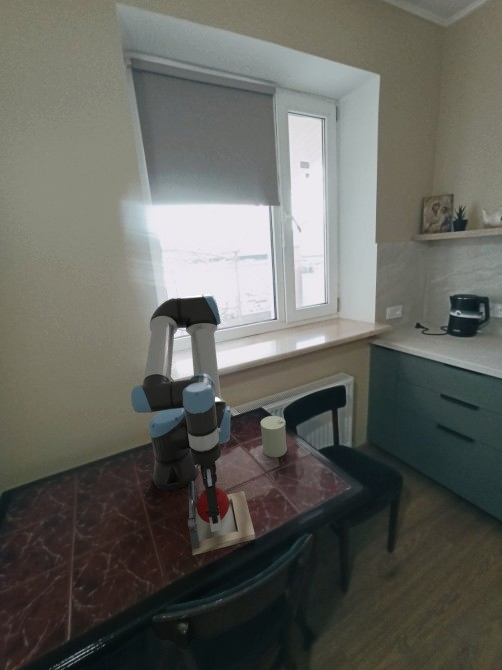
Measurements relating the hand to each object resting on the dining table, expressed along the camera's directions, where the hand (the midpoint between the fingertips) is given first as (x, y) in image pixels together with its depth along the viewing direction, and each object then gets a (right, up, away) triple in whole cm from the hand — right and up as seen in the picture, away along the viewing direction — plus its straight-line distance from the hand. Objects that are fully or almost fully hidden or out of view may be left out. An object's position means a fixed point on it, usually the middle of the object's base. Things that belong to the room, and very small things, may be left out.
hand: (214, 514), depth 80 cm
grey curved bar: (-5, -2, -1) cm, 6 cm away
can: (+19, +6, +30) cm, 36 cm away
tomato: (0, 0, 0) cm, 1 cm away
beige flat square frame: (+2, -3, +1) cm, 3 cm away
